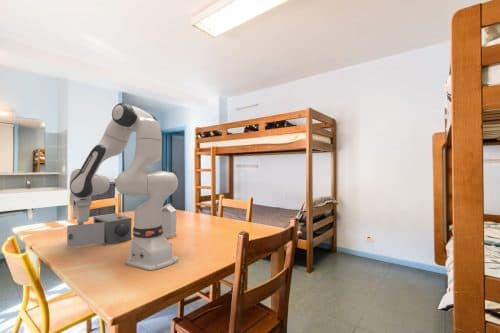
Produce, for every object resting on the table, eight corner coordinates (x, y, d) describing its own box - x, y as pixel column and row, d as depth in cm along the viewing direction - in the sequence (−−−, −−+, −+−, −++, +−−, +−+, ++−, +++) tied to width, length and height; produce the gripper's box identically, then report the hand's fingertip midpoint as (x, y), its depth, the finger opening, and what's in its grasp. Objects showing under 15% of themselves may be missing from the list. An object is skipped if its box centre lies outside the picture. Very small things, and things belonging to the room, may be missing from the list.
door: (106, 242, 123) (106, 222, 123) (106, 243, 121) (106, 222, 121) (67, 247, 115) (67, 225, 115) (66, 248, 113) (66, 226, 113)
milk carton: (176, 235, 140) (176, 203, 140) (171, 238, 133) (171, 205, 133) (164, 234, 141) (165, 203, 141) (159, 238, 134) (159, 205, 134)
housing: (133, 240, 129) (133, 217, 130) (109, 245, 120) (110, 221, 120) (115, 233, 143) (115, 212, 143) (93, 237, 134) (93, 215, 134)
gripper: (69, 198, 124) (69, 224, 124) (76, 203, 109) (76, 232, 109) (84, 197, 128) (83, 223, 128) (92, 202, 114) (92, 230, 114)
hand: (80, 227), depth 119 cm, fingers closed
